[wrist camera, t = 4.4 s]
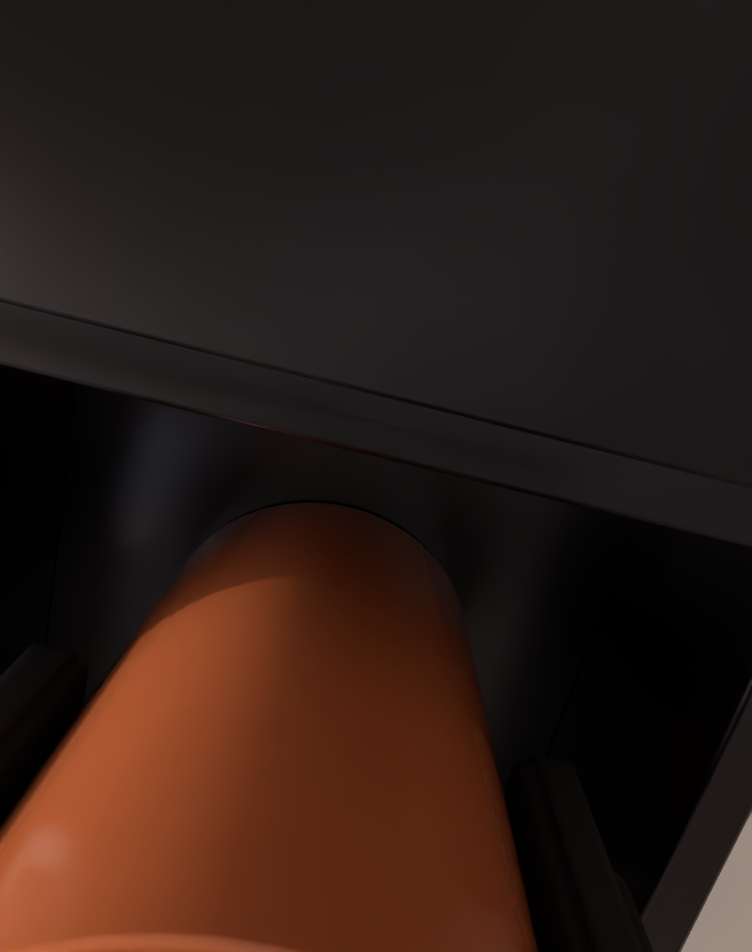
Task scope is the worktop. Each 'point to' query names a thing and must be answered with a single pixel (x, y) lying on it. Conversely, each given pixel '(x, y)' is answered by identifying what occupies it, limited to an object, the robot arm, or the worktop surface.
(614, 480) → the drawer
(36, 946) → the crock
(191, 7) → the black drawer cabinet
